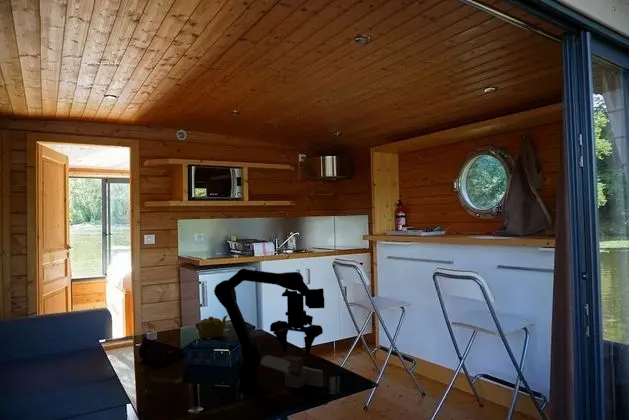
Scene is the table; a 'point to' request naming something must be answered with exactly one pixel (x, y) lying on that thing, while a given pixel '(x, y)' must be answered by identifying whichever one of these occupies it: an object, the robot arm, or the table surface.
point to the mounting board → (313, 376)
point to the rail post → (296, 366)
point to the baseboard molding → (276, 364)
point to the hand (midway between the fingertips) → (296, 353)
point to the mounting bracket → (156, 350)
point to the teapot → (211, 327)
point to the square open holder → (296, 379)
